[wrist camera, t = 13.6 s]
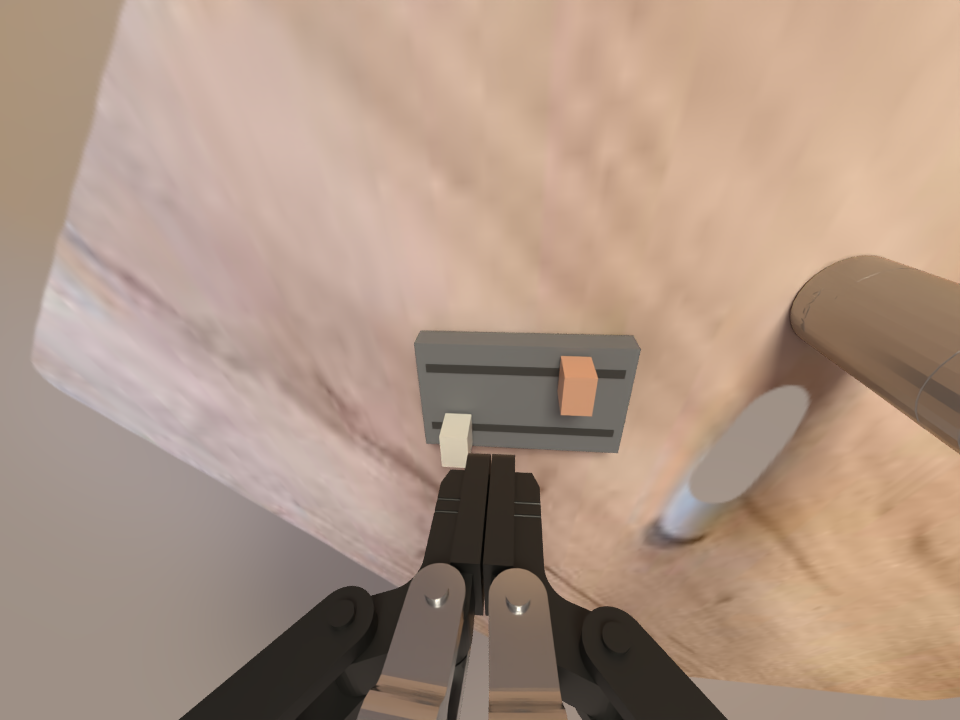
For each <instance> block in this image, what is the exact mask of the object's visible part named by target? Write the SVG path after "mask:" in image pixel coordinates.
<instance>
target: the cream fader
mask: <svg viewBox="0 0 960 720" xmlns="http://www.w3.org/2000/svg"><path fill="white" fill-rule="evenodd" d="M439 441H440V451H441V461H442V467H457V468H465V466H466V460H467V455H468V453H471V450H472V444H473V440H472V415H471V414H453V413H445V417H444V421H443V424H442V428H441V432H440V435H439Z"/></svg>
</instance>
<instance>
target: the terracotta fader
mask: <svg viewBox="0 0 960 720" xmlns="http://www.w3.org/2000/svg"><path fill="white" fill-rule="evenodd" d="M597 382H598V377H597V374H596V370H595V367H594V364H593V361H592V358H591V357H580V356H561V361H560V371H559V381H558V391H557V392H558V399H559V407H560V414H561V415H571V416H592V413H593V407H594V401H595V394H596V388H597Z"/></svg>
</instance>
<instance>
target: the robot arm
mask: <svg viewBox="0 0 960 720" xmlns="http://www.w3.org/2000/svg"><path fill="white" fill-rule="evenodd" d="M790 321H791V325H792V328H793V330H794V332H795V333H796V335H798V336H799V337H800V338H801V339H802V340H804V341H805V342H806V343H808V344H809V345H811V346H812V347H813V348H815V349H816V350H817V351H819V352H820V353H821V354H823V355H824V356H825V357H827V358H828V359H829V360H831V361H832V362H833V363H835V364H836V365H838V366H839V367H840V368H842V369H843V370H844V371H846V372H847V373H849V374H850V375H851V376H853V377H854V378H855V379H857V380H858V381H860V382H861V383H862V384H864V385H865V386H866V387H868V388H869V389H870V390H872V391H873V392H875V393H876V394H877V395H879V396H880V397H881V398H883V399H884V400H886V401H887V402H888V403H890V404H891V405H892V406H894V407H895V408H897V409H898V410H899V411H901V412H902V413H903V414H905V415H906V416H908V417H909V418H910V419H912V420H913V421H914V422H916V423H917V424H918V425H920V426H921V427H923V428H924V429H926V430H927V431H928V432H930V433H931V434H933V435H934V436H935V437H937V438H938V439H939V440H941V441H942V442H944V443H945V444H946V445H948V446H949V447H950V448H952V449H953V450H955V451H956V452H957V453H959V454H960V284H959V283H956V282H953V281H950V280H947V279H944V278H941V277H938V276H935V275H932V274H929V273H927V272H924V271H921V270H918V269H916V268H913V267H910V266H907V265H904V264H901V263H898V262H895V261H892V260H889V259H886V258H882V257H878V256H857V257H851V258H848V259H845V260H842V261H839V262H837V263H835V264H833V265H831V266H829V267H827V268H825V269H824V270H822V271H821V272H819V273H818V274H816V275H815V276H814V277H813V278H812V279H811V280H810V281H808V282H807V283H806V284H805V286H804V287H803V288H802V289H801V291H800V292H799V293H798V295H797V297H796V299H795V300H794V302H793V306H792V309H791V316H790ZM484 596H485V614H486V616H489V719H488V720H568V719H567V715H566V711H565V708H564V706H563V703H562V701H564V702H565V703H567V704H569V705H571V706H573V707H575V708H576V710H577V712H578V714H579V715H580V717H581V718H582V720H727V718H726V717H725V716H724V715H723V714H722V713H721V712H720V711H719V710H718V709H717V708H716V707H715V705H714V704H713V703H712V702H711V701H710V700H709V699H708V698H707V697H706V696H705V695H704V694H703V693H702V691H701V690H700V689H699V688H698V687H697V686H696V685H695V684H694V683H693V682H692V681H691V679H689V677H688V676H687V675H686V674H685V673H684V672H683V671H682V670H681V669H680V668H679V667H678V665H677V664H676V663H675V662H674V661H673V660H672V659H671V658H670V657H669V656H668V655H667V654H666V652H665V651H664V650H663V649H662V648H661V647H660V646H659V645H658V644H657V643H656V642H655V641H654V639H653V638H652V637H651V636H650V635H649V634H648V633H647V632H646V631H645V630H644V629H643V628H642V627H641V625H640V624H639V623H638V622H637V621H636V620H635V619H634V618H633V617H632V616H630V615H629V614H628V613H626V612H624V611H622V610H620V609H618V608H615V607H608V606H604V607H599V608H596V609H594V610H593V611H589V610H587V609H585V608H582V607H580V606H578V605H575V604H573V603H571V602H569V601H567V600H565V599H564V598H562V597H561V596H560V595H558V594H557V593H556V592H555V591H554V589H553V588H552V587H551V585H550V584H549V582H548V580H547V578H546V575H545V571H544V559H543V541H542V523H541V505H540V488H539V485H538V483H537V481H536V480H535V478H534V476H533V474H532V473H519V472H515V455H501V454H492V463H491V454H473V453H468V455H467V460H466V466H465V470H450V471H449V473H448V474H447V475H446V477H445V478H444V479H443V481H442V482H441V485H440V490H439V494H438V500H437V503H436V507H435V513H434V516H433V521H432V525H431V530H430V534H429V538H428V543H427V547H426V552H425V556H424V560H423V563H422V566H421V568H420V570H419V571H418V573H417V574H416V575H415V576H414V577H413V578H412V579H411V580H410V581H409V582H408V583H406V584H405V585H403V586H401V587H399V588H397V589H394V590H390V591H386V592H383V593H379V594H376V595H372V596H370V594H369V593H368V592H367V591H366V590H364V589H363V588H360V587H356V586H347V587H343V588H340V589H338V590H336V591H334V592H333V593H331V594H330V595H328V596H327V597H326V598H325V599H324V600H322V601H321V602H320V603H319V604H318V605H316V606H315V607H314V608H313V609H312V610H310V611H309V612H308V613H307V614H306V615H304V616H303V617H302V618H301V619H300V620H298V621H297V622H296V623H295V624H293V625H292V626H291V627H290V628H289V629H288V630H286V631H285V632H284V633H283V634H282V635H280V636H279V637H278V638H277V639H275V640H274V641H273V642H272V643H271V644H269V645H268V646H267V647H266V648H265V649H263V650H262V651H261V652H260V653H259V654H257V655H256V656H255V657H254V658H253V659H251V660H250V661H249V662H248V663H247V664H245V665H244V666H243V667H242V668H241V669H239V670H238V671H237V672H236V673H234V674H233V675H232V676H231V677H230V678H228V679H227V680H226V681H225V682H224V683H223V684H221V685H220V686H219V687H218V688H216V689H215V690H214V691H213V692H212V693H210V694H209V695H208V696H207V697H206V698H205V699H203V700H202V701H201V702H200V703H198V704H197V705H196V706H195V707H194V708H192V709H191V710H190V711H189V712H188V713H186V714H185V715H184V716H183V717H181V718H180V719H179V720H459V719H460V712H461V707H462V700H463V694H464V688H465V682H466V675H467V669H468V663H469V657H470V649H471V643H472V636H473V626H474V615H483V610H484Z"/></svg>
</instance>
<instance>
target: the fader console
mask: <svg viewBox="0 0 960 720" xmlns="http://www.w3.org/2000/svg"><path fill="white" fill-rule="evenodd" d="M414 347H415V355H416V363H417V371H418V379H419V388H420V396H421V404H422V412H423V420H424V428H425V437H426V443H427V444H440V441H439V435H440V432H441V428H442V424H443V421H444V417H445V413H453V414H471V415H472V440H473V444H472V446H487V447H506V448H526V449H546V450H566V451H586V452H605V453H618V450H619V446H620V441H621V437H622V432H623V428H624V423H625V419H626V414H627V410H628V405H629V400H630V396H631V391H632V387H633V382H634V378H635V373H636V369H637V364H638V360H639V355H640V351H641V349H640V347H639V345H638V343H637V341H636V340H635V338H634V336H629V335H586V334H543V333H500V332H457V331H420V333H419V335H418V337H417V339H416V340H415V342H414ZM561 356H580V357H591V358H592V361H593V364H594V367H595V370H596V374H597V377H598V382H597V388H596V394H595V401H594V407H593V413H592V416H571V415H561V414H560V407H559V399H558V392H557V391H558V381H559V371H560V361H561Z"/></svg>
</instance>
